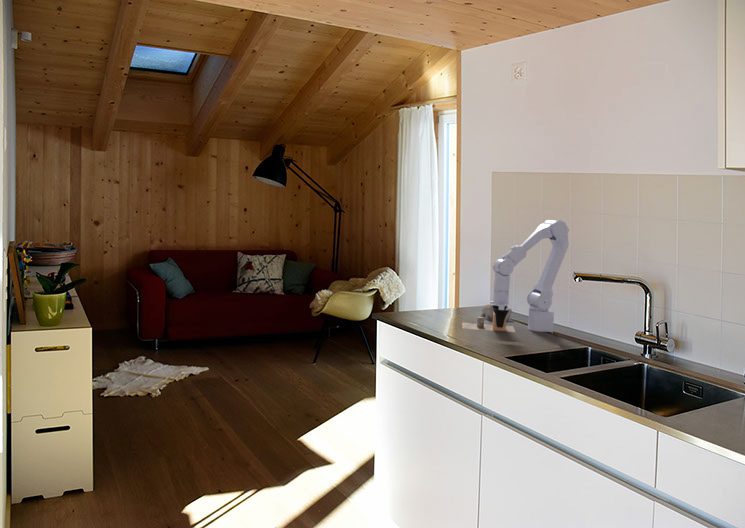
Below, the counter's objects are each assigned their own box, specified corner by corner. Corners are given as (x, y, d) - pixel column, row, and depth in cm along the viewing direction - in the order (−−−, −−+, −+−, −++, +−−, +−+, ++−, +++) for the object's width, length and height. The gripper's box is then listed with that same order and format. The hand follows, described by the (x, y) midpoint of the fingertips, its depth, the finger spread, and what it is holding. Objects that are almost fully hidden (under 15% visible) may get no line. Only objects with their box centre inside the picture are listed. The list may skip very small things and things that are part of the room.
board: (513, 328, 255) (513, 317, 254) (515, 335, 243) (516, 323, 243) (462, 325, 258) (462, 314, 257) (462, 331, 246) (462, 319, 245)
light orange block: (504, 328, 250) (505, 313, 249) (505, 330, 245) (506, 315, 244) (492, 327, 250) (493, 312, 250) (492, 329, 246) (493, 314, 245)
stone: (513, 322, 268) (514, 306, 267) (486, 322, 265) (487, 306, 264) (504, 319, 276) (505, 303, 275) (478, 319, 273) (479, 303, 272)
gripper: (490, 287, 254) (487, 321, 255) (491, 292, 240) (489, 328, 241) (508, 288, 253) (505, 322, 254) (510, 293, 239) (508, 329, 240)
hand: (499, 325), depth 248 cm, fingers open, 7 cm apart
